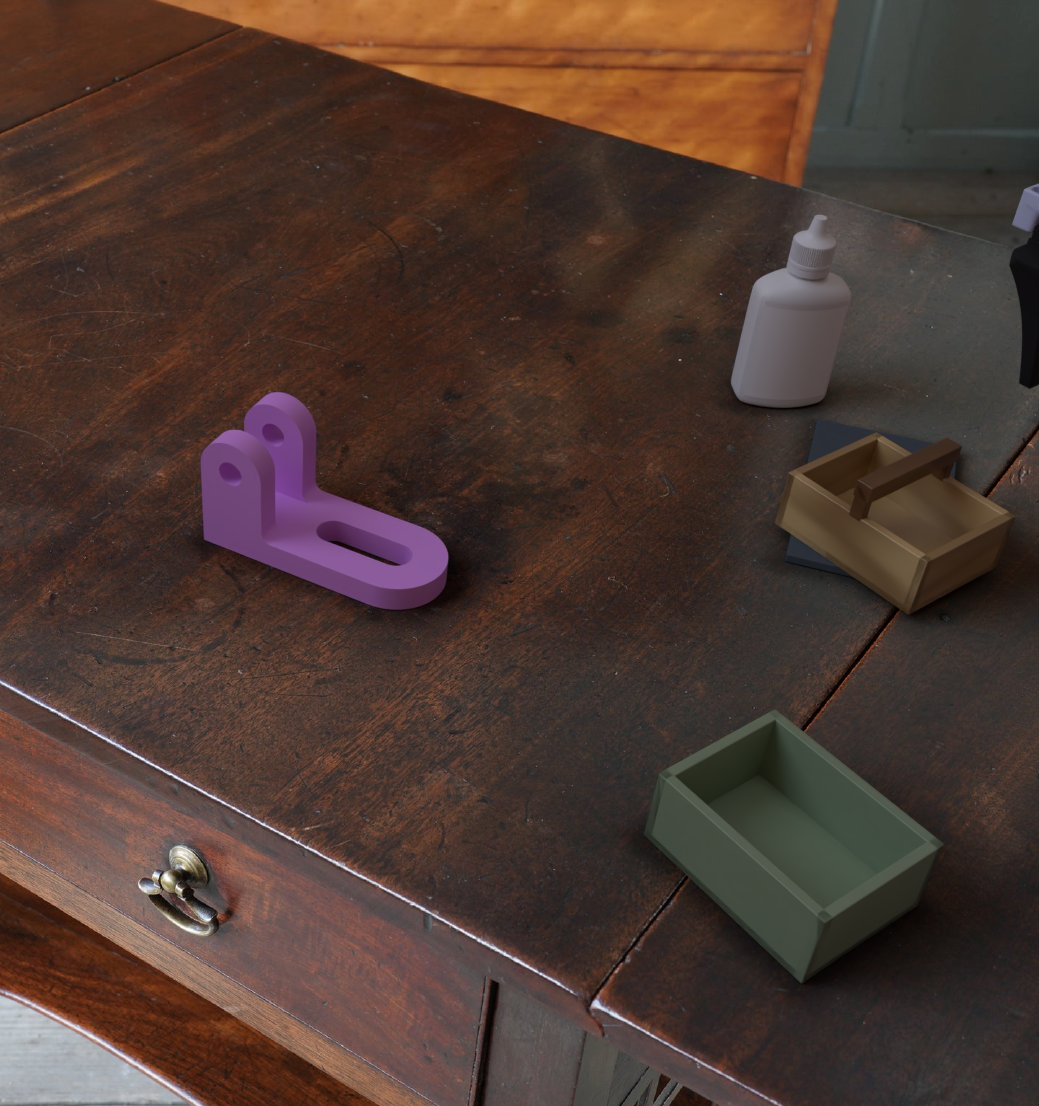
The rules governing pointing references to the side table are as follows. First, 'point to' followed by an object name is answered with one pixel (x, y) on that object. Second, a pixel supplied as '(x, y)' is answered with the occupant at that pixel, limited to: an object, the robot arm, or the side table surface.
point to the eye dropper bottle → (793, 326)
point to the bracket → (309, 514)
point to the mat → (824, 443)
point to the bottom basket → (790, 843)
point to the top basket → (895, 519)
